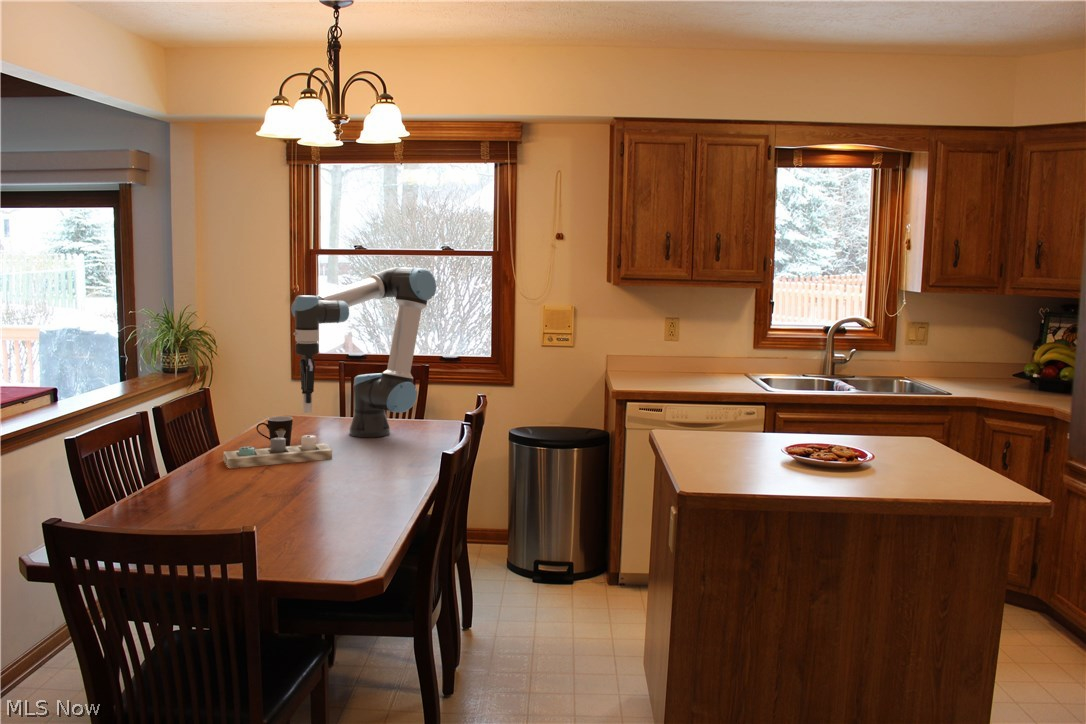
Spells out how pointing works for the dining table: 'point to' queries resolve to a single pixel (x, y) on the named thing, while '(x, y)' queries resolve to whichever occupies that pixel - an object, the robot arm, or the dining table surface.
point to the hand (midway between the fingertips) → (307, 412)
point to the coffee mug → (279, 428)
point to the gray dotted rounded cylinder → (278, 445)
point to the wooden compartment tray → (277, 456)
